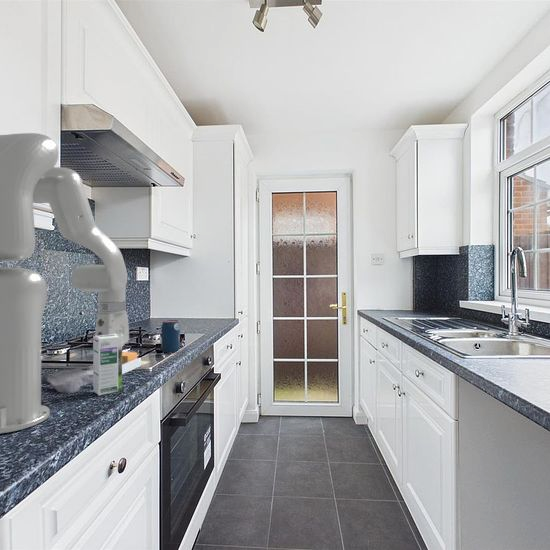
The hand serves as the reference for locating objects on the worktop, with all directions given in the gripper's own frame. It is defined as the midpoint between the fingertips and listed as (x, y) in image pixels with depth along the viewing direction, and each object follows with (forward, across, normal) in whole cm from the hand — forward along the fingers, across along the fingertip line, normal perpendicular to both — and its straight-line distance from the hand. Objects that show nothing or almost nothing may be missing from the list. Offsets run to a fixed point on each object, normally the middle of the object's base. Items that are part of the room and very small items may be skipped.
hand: (111, 368), depth 106 cm
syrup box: (+2, -12, -8) cm, 15 cm away
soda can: (+2, +34, -1) cm, 34 cm away
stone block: (+3, -11, +4) cm, 12 cm away
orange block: (+1, +7, 0) cm, 7 cm away
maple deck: (+2, +5, 0) cm, 5 cm away
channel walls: (+2, +2, 0) cm, 3 cm away
